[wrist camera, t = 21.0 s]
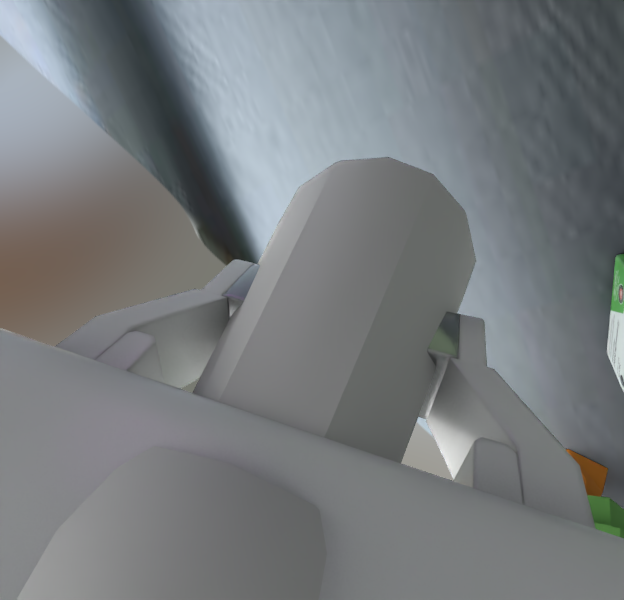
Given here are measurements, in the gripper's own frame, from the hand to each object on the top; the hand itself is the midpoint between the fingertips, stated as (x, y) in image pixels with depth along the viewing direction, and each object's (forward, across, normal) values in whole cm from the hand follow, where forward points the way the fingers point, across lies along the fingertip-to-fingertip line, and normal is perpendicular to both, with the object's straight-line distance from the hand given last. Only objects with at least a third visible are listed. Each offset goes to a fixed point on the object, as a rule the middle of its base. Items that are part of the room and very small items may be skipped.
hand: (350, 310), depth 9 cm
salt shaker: (+5, 0, 0) cm, 5 cm away
